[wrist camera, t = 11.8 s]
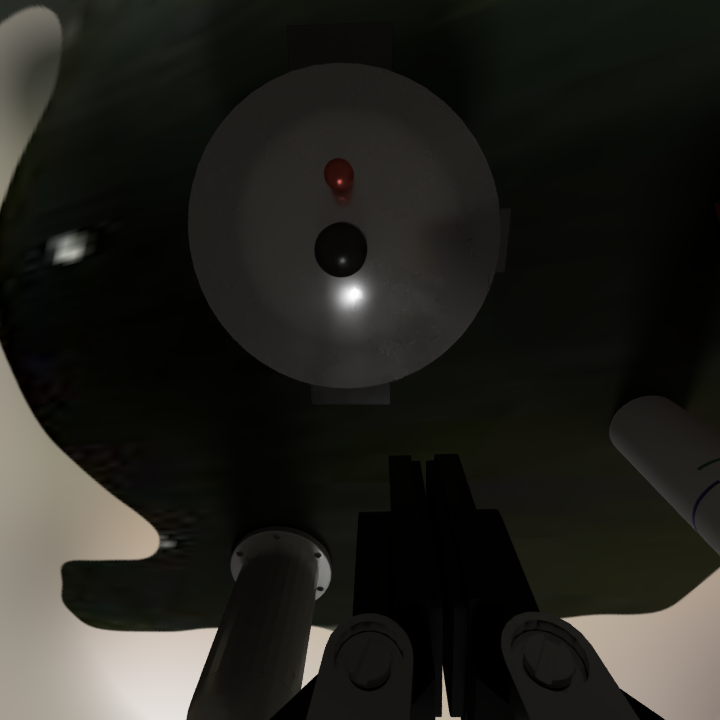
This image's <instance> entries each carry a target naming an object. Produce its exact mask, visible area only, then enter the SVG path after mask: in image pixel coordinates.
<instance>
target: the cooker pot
mask: <svg viewBox="0 0 720 720" xmlns="http://www.w3.org/2000/svg"><path fill="white" fill-rule="evenodd" d="M287 39H288V54H289V69H290V72H291V71H295V70H298V69H302V68H306V67H309V66H313V65H321V64H330V63H354V64H364V65H369V66H374V67H379V68H383V69H386V70H389V71H392V22H370V23H345V24H319V25H294V26H287ZM499 210H500V221H501V230H500V248H499V254H498V260H497V266H496V269H495V272H505V262H506V253H507V243H508V234H509V224H510V214H511V208H499ZM311 398H312V404H390V382H388V383H385V384H380V385H375V386H370V387H362V388H331V387H324V386H319V385H313V384H311Z"/></svg>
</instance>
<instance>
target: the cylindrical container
mask: <svg viewBox="0 0 720 720" xmlns="http://www.w3.org/2000/svg"><path fill="white" fill-rule="evenodd" d="M609 435H610V439H611V441H612V443H613V445H614V446H615V447H616V448H617V449H618V450H619V451H620V452H621V453H622V454H623V455H624V456H625V457H626V458H627V460H628V461H629V462H630V463H631V464H632V465H633V466H634V467H635V468H636V469H637V470H638V471H639V472H640V473H641V474H642V475H643V476H644V477H645V478H646V479H647V480H648V481H649V482H650V484H651V485H652V486H653V487H654V488H655V489H656V490H657V491H658V492H659V493H660V494H661V495H662V496H663V497H664V498H665V499H666V500H667V501H668V502H669V503H670V504H671V505H672V506H673V507H674V508H675V510H676V511H677V512H678V513H679V514H680V515H681V516H682V517H683V518H684V519H685V520H686V521H687V522H688V523H689V524H690V525H691V526H692V527H693V528H694V529H695V530H696V531H697V532H698V533H699V535H701V536H702V538H703V539H704V540H705V541H706V542H707V543H708V544H709V545H710V546H711V547H712V548H713V549H714V550H715V551H716V552H717V553H718V554H719V555H720V434H719V433H718V432H716V431H715V430H713V429H712V428H710V427H709V426H707V425H706V424H705V423H703V422H702V421H700V420H699V419H697V418H696V417H694V416H693V415H691V414H690V413H688V412H687V411H686V410H684V409H683V408H681V407H680V406H678V405H677V404H675V403H674V402H672V401H671V400H669V399H667V398H665V397H662V396H655V395H650V396H643V397H639V398H636V399H634V400H632V401H630V402H628V403H626V404H625V405H624V406H622V407H621V408H620V409H619V410H618V411H617V413H616V414H615V415H614V417H613V419H612V420H611V424H610V427H609Z"/></svg>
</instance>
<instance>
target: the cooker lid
mask: <svg viewBox="0 0 720 720" xmlns="http://www.w3.org/2000/svg"><path fill="white" fill-rule="evenodd" d="M500 230H501V221H500V210H499V201H498V196H497V192H496V187H495V183H494V179H493V176H492V174H491V171H490V168H489V166H488V163H487V160H486V158H485V156H484V154H483V152H482V150H481V148H480V147H479V145H478V143H477V141H476V139H475V137H474V136H473V135H472V133H471V132H470V131H469V129H468V128H467V126H466V125H465V124H464V122H463V121H462V120H461V118H460V117H459V116H458V115H457V114H456V113H455V112H454V111H453V110H452V109H451V108H450V107H449V106H448V105H447V104H446V103H445V102H444V101H442V100H441V99H440V98H438V97H437V96H436V95H435V94H433V93H432V92H431V91H429V90H428V89H427V88H425V87H423V86H421V85H420V84H418V83H416V82H414V81H412V80H411V79H409V78H407V77H405V76H402V75H400V74H397V73H394V72H392V71H389V70H386V69H383V68H379V67H374V66H369V65H364V64H354V63H330V64H321V65H313V66H309V67H306V68H302V69H298V70H295V71H291V72H289V73H287V74H284V75H282V76H280V77H278V78H275V79H273V80H271V81H269V82H268V83H266V84H265V85H263V86H261V87H260V88H258V89H257V90H255V91H254V92H252V93H251V94H250V95H248V96H247V97H246V98H245V99H244V100H243V101H242V102H240V103H239V104H238V105H237V106H236V107H235V108H234V109H233V110H232V111H231V112H230V113H229V115H228V116H227V117H226V118H225V119H224V121H223V122H222V123H221V124H220V125H219V127H218V128H217V130H216V132H215V133H214V135H213V136H212V138H211V140H210V141H209V143H208V144H207V146H206V149H205V151H204V153H203V155H202V158H201V160H200V162H199V164H198V167H197V171H196V174H195V177H194V181H193V184H192V189H191V195H190V202H189V211H188V234H189V244H190V252H191V256H192V261H193V265H194V270H195V273H196V276H197V278H198V281H199V284H200V287H201V289H202V292H203V294H204V296H205V298H206V300H207V302H208V304H209V306H210V308H211V309H212V311H213V312H214V314H215V315H216V317H217V318H218V320H219V321H220V323H221V324H222V325H223V327H224V328H225V329H226V330H227V331H228V333H229V334H230V335H231V336H232V337H233V339H234V340H236V341H237V342H238V343H239V344H240V345H241V346H242V347H243V348H244V349H245V350H246V351H247V352H248V353H250V354H251V355H252V356H254V357H255V358H256V359H258V360H259V361H260V362H262V363H264V364H265V365H267V366H269V367H270V368H272V369H274V370H276V371H277V372H279V373H282V374H284V375H286V376H289V377H291V378H293V379H296V380H299V381H303V382H306V383H309V384H313V385H319V386H324V387H331V388H362V387H370V386H375V385H380V384H385V383H388V382H391V381H394V380H397V379H401V378H403V377H405V376H407V375H409V374H412V373H414V372H416V371H418V370H419V369H421V368H423V367H424V366H426V365H428V364H429V363H431V362H433V361H434V360H435V359H436V358H438V357H439V356H440V355H442V354H443V353H444V352H445V351H447V350H448V349H449V348H450V347H451V346H452V345H453V344H454V343H455V342H456V341H457V340H458V339H459V338H460V337H461V335H462V334H463V333H464V331H465V330H466V329H467V328H468V326H469V325H470V324H471V322H472V321H473V319H474V318H475V316H476V314H477V313H478V311H479V309H480V308H481V306H482V304H483V302H484V300H485V298H486V295H487V293H488V291H489V288H490V286H491V283H492V280H493V276H494V273H495V269H496V266H497V260H498V254H499V248H500Z"/></svg>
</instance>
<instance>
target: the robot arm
mask: <svg viewBox="0 0 720 720" xmlns="http://www.w3.org/2000/svg"><path fill="white" fill-rule="evenodd" d="M389 476H390V500H391V511H388V512H359V516H358V532H357V550H356V567H355V584H354V602H353V617H350V618H349V619H347V620H346V621H344V622H343V623H341V624H340V625H339V626H338V627H337V628H336V629H335V630H334V632H333V633H332V634H331V635H330V638H329V640H328V642H327V644H326V647H325V650H324V654H323V658H322V661H321V665H320V669H319V673H318V674H317V675H316V676H315V677H314V678H313V679H312V680H311V681H310V682H309V683H308V684H307V685H306V686H305V687H303V688H302V689H301V685H302V679H303V673H304V666H305V660H306V654H307V648H308V642H309V635H310V629H311V623H312V616H313V610H314V604H315V600H316V599H318V598H319V597H320V596H321V595H322V594H323V593H324V592H325V591H326V589H327V588H328V586H329V584H330V581H331V576H332V562H331V559H330V556H329V554H328V552H327V550H326V549H325V548H324V546H323V545H322V544H321V543H320V542H319V541H318V540H316V539H315V538H314V537H313V536H311V535H309V534H307V533H305V532H303V531H301V530H298V529H295V528H290V527H285V526H270V527H264V528H260V529H256V530H254V531H252V532H250V533H248V534H247V535H246V536H244V537H243V538H242V539H241V540H240V541H239V542H238V544H237V545H236V547H235V549H234V552H233V554H232V557H231V564H230V567H231V573H232V576H233V578H234V581H235V585H234V588H233V590H232V593H231V596H230V598H229V601H228V604H227V606H226V609H225V612H224V614H223V617H222V620H221V622H220V625H219V628H218V631H217V633H216V636H215V639H214V641H213V644H212V647H211V649H210V652H209V655H208V658H207V660H206V663H205V665H204V668H203V671H202V673H201V676H200V679H199V682H198V684H197V687H196V690H195V692H194V695H193V698H192V700H191V703H190V706H189V710H188V714H187V720H435V717H441V716H442V665H443V672H444V679H445V686H446V693H447V700H448V707H449V712H450V716H451V717H461V720H664V719H663V718H662V717H661V716H659V715H658V714H656V713H655V712H653V711H652V710H650V709H649V708H647V707H646V706H645V705H643V704H642V703H640V702H639V701H637V700H636V699H634V698H633V697H631V696H630V695H628V694H627V693H626V692H624V691H623V690H621V689H619V687H618V685H617V684H616V682H615V681H614V679H613V678H612V676H611V674H610V673H609V672H608V670H607V668H606V667H605V665H604V664H603V662H602V661H601V659H600V658H599V656H598V654H597V653H596V651H595V650H594V648H593V647H592V645H591V644H590V643H589V642H588V640H587V639H586V638H585V637H584V636H583V635H582V633H581V632H579V631H578V630H577V629H576V628H574V627H573V626H572V625H571V624H569V623H568V622H566V621H564V620H562V619H560V618H558V617H556V616H554V615H550V614H546V613H542V612H540V611H539V609H538V606H537V604H536V601H535V599H534V596H533V594H532V591H531V589H530V586H529V584H528V581H527V579H526V576H525V574H524V572H523V569H522V567H521V564H520V562H519V559H518V557H517V554H516V552H515V549H514V547H513V544H512V542H511V539H510V537H509V534H508V532H507V529H506V527H505V524H504V522H503V519H502V517H501V515H500V513H499V511H498V510H497V509H476V507H475V504H474V501H473V498H472V495H471V492H470V489H469V486H468V483H467V480H466V477H465V474H464V471H463V468H462V465H461V461H460V458H459V456H458V454H435V456H434V461H426V494H425V488H424V482H423V477H422V471H421V465H420V461H411V455H400V456H389Z"/></svg>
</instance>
